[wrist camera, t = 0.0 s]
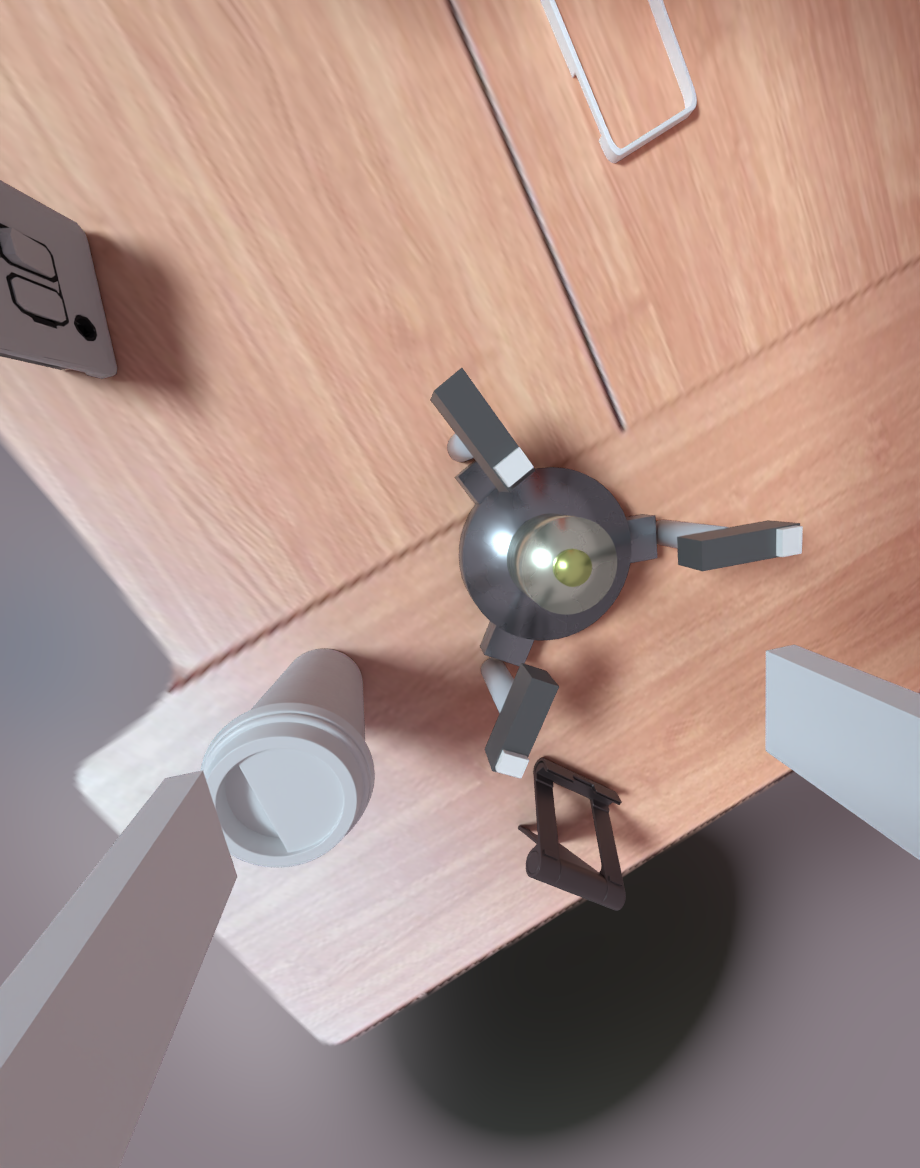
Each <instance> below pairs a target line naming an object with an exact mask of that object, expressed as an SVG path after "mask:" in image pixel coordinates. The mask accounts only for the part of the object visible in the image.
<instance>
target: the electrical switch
mask: <svg viewBox="0 0 920 1168" xmlns="http://www.w3.org/2000/svg"><path fill="white" fill-rule="evenodd" d="M0 356H2V357H6V358H11V359H15V360H19V361H24V362H28V363H33V364H37V365H42V366H46V367H51V368H55V369H60V370H62V369H72V370H76V371H81V372H85V373H86V375H88V376H93V377H97V378H101V379H103V378H107V377H112V376H114V375H115V374H116V373H117V365H116V361H115V356H114V352H113V348H112V343H111V339H110V335H109V330H108V326H107V322H106V317H105V313H104V309H103V304H102V300H101V296H100V291H99V287H98V283H97V278H96V274H95V270H94V266H93V261H92V257H91V253H90V248H89V244H88V240H87V237H86V234H85V232H84V231H83V230H82V229H81V227H80V226H79V225H78V224H77V223H76V222H74V221H72V220H71V219H69V218H67V217H65V216H63V215H61V214H60V213H58V212H56V211H54V210H52V209H51V208H49V207H47V206H45V205H44V204H42V203H40V202H38V201H36V200H35V199H33V198H31V197H29V196H28V195H26V194H24V193H22V192H20V191H19V190H17V189H15V188H13V187H12V186H10V185H8V184H6V183H4V182H3V181H1V180H0Z"/></svg>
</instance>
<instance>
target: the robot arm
mask: <svg viewBox="0 0 920 1168" xmlns="http://www.w3.org/2000/svg"><path fill="white" fill-rule="evenodd" d="M766 751H767V752H768V753H769V754H771V755H772V756H774V757H775V758H776V759H778V760H779V761H781V762H782V763H784V764H785V765H786V766H788V767H789V768H791V769H792V770H793V771H795V772H796V773H798V774H799V775H801V776H802V777H803V778H805V779H806V780H808V781H809V782H810V783H812V784H814V785H815V786H816V787H817V788H819V789H820V790H822V791H823V792H824V793H826V794H827V795H829V796H830V797H831V798H833V799H834V800H836V801H837V802H839V803H840V804H841V805H843V806H844V807H846V808H847V809H848V810H850V811H851V812H853V813H854V814H855V815H857V816H858V817H860V818H861V819H863V820H864V821H865V822H867V823H868V824H869V825H871V826H872V827H874V828H875V829H877V830H878V831H879V832H881V833H882V834H884V835H885V836H886V837H888V838H889V839H891V840H892V841H894V842H895V843H896V844H898V845H899V846H901V847H902V848H903V849H905V850H906V851H908V852H909V853H910V854H912V855H913V856H915V857H916V858H917V859H919V860H920V694H919V693H916V692H914V691H911V690H909V689H906V688H904V687H901V686H899V685H896V684H894V683H891V682H888V681H886V680H883V679H881V678H878V677H876V676H873V675H871V674H868V673H866V672H863V671H860V670H858V669H855V668H853V667H850V666H848V665H845V664H843V663H840V662H837V661H835V660H832V659H830V658H827V657H825V656H822V655H820V654H817V653H815V652H812V651H809V650H807V649H804V648H802V647H799V646H797V645H790V646H786V647H781V648H776V649H772V650H767V651H766ZM236 878H237V874H236V871H235V868H234V865H233V862H232V859H231V856H230V852H229V849H228V846H227V843H226V840H225V837H224V834H223V831H222V828H221V825H220V821H219V818H218V815H217V812H216V809H215V806H214V803H213V800H212V797H211V793H210V790H209V787H208V784H207V781H206V778H205V775H204V772H203V770H202V771H197V772H193V773H188V774H183V775H179V776H174V777H169V778H165V779H164V781H163V782H162V783H161V784H160V786H159V787H158V788H157V789H156V791H155V792H154V793H153V794H152V796H151V797H150V798H149V799H148V801H147V802H146V803H145V805H144V806H143V807H142V808H141V810H140V811H139V812H138V813H137V815H136V816H135V817H134V818H133V820H132V821H131V822H130V824H129V825H128V826H127V827H126V829H125V830H124V831H123V832H122V834H121V835H120V836H119V838H118V839H117V840H116V841H115V843H114V844H113V845H112V846H111V848H110V849H109V850H108V851H107V853H106V854H105V855H104V857H103V858H102V859H101V860H100V862H99V863H98V864H97V865H96V867H95V868H94V869H93V871H92V872H91V873H90V874H89V876H88V877H87V878H86V879H85V881H84V882H83V883H82V884H81V886H80V887H79V888H78V889H77V891H76V892H75V893H74V894H73V896H72V897H71V898H70V900H69V901H68V902H67V903H66V905H65V906H64V907H63V909H62V910H61V911H60V912H59V913H58V915H57V916H56V917H55V918H54V920H53V921H52V922H51V924H50V925H49V926H48V927H47V929H46V930H45V931H44V932H43V934H42V935H41V936H40V938H39V939H38V940H37V941H36V943H35V944H34V945H33V946H32V948H31V949H30V950H29V951H28V953H27V954H26V955H25V957H24V958H23V959H22V960H21V962H20V963H19V964H18V965H17V967H16V968H15V969H14V970H13V972H12V973H11V974H10V975H9V977H8V978H7V979H6V980H5V982H4V983H3V984H2V986H1V987H0V1168H119V1167H120V1164H121V1162H122V1159H123V1156H124V1154H125V1152H126V1149H127V1147H128V1144H129V1142H130V1140H131V1137H132V1135H133V1132H134V1130H135V1127H136V1125H137V1122H138V1120H139V1117H140V1115H141V1112H142V1110H143V1108H144V1105H145V1103H146V1100H147V1098H148V1095H149V1093H150V1090H151V1088H152V1085H153V1083H154V1080H155V1078H156V1075H157V1073H158V1070H159V1068H160V1065H161V1063H162V1061H163V1058H164V1056H165V1053H166V1051H167V1048H168V1046H169V1043H170V1041H171V1038H172V1036H173V1033H174V1031H175V1028H176V1026H177V1024H178V1021H179V1019H180V1016H181V1014H182V1011H183V1009H184V1006H185V1004H186V1001H187V999H188V997H189V994H190V991H191V989H192V986H193V984H194V982H195V979H196V977H197V974H198V972H199V969H200V967H201V964H202V962H203V959H204V957H205V955H206V952H207V950H208V947H209V945H210V942H211V940H212V937H213V935H214V932H215V930H216V928H217V925H218V923H219V920H220V918H221V915H222V913H223V910H224V908H225V905H226V903H227V900H228V898H229V895H230V893H231V891H232V888H233V886H234V883H235V881H236Z"/></svg>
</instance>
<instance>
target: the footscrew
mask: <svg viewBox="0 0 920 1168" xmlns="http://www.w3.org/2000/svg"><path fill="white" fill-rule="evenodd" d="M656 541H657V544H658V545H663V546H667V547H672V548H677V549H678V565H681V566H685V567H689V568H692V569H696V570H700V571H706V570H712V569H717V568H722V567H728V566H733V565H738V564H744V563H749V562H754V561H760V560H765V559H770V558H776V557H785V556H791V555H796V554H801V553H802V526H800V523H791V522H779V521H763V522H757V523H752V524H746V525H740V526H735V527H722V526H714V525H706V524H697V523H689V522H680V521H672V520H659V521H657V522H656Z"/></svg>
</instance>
